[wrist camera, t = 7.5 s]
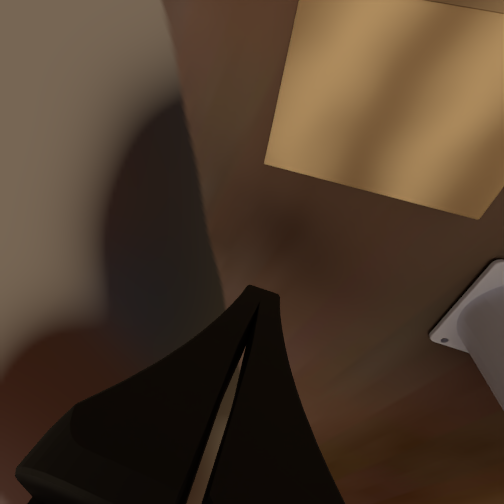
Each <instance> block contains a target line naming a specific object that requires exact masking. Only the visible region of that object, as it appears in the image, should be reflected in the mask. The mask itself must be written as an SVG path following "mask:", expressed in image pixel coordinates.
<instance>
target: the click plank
mask: <svg viewBox="0 0 504 504" xmlns="http://www.w3.org/2000/svg"><path fill="white" fill-rule="evenodd" d="M264 164H266V165H270V166H274V167H278V168H282V169H286V170H289V171H293V172H297V173H301V174H305V175H309V176H312V177H316V178H320V179H324V180H328V181H331V182H335V183H339V184H343V185H347V186H351V187H354V188H358V189H362V190H366V191H370V192H374V193H377V194H381V195H385V196H389V197H393V198H397V199H400V200H404V201H408V202H412V203H416V204H419V205H423V206H427V207H431V208H435V209H439V210H442V211H446V212H450V213H454V214H458V215H462V216H465V217H469V218H473V219H477V220H479V219H480V218H481V216H482V215H483V214H484V212H485V211H486V210H487V208H488V207H489V206H490V204H491V203H492V202H493V200H494V199H495V198H496V196H497V195H498V194H499V192H500V191H501V190H502V188H503V187H504V0H299V3H298V7H297V12H296V17H295V21H294V26H293V31H292V35H291V40H290V45H289V50H288V54H287V59H286V64H285V68H284V73H283V78H282V82H281V87H280V92H279V96H278V101H277V106H276V110H275V115H274V120H273V124H272V129H271V134H270V139H269V143H268V148H267V153H266V157H265V162H264Z"/></svg>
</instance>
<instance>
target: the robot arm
mask: <svg viewBox="0 0 504 504" xmlns="http://www.w3.org/2000/svg"><path fill="white" fill-rule="evenodd" d="M429 337H430V339H431V340H432V341H433V342H436V343H439V344H442V345H446V346H449V347H452V348H455V349H458V350H461V351H464V352H467V353H469V354H470V355H471V357H472V359H473V360H474V362H475V364H476V365H477V367H478V369H479V370H480V372H481V374H482V375H483V377H484V379H485V380H486V382H487V384H488V385H489V387H490V389H491V390H492V392H493V394H494V395H495V397H496V399H497V401H498V402H499V404H500V406H501V407H502V409H503V411H504V260H503V259H499V260H495V261H493V262H492V263H491V264H490V265H489V266H488V267H487V268H486V269H485V271H484V272H483V273H482V274H481V275H480V276H479V277H478V279H477V280H476V281H475V282H474V283H473V284H472V285H471V287H470V288H469V289H468V290H467V291H466V292H465V293H464V295H463V296H462V297H461V298H460V299H459V300H458V301H457V303H456V304H455V305H454V306H453V307H452V308H451V309H450V311H449V312H448V313H447V314H446V315H445V316H444V317H443V319H442V320H441V321H440V322H439V323H438V324H437V325H436V327H435V328H434V329H433V330H432V331H431V332H430V334H429ZM442 338H445V339H442ZM245 346H246V348H245ZM244 349H245V352H244V357H243V361H242V366H241V370H240V374H239V379H238V383H237V388H236V392H235V396H234V400H233V404H232V408H231V412H230V415H229V418H228V421H227V424H226V428H225V431H224V434H223V437H222V440H221V444H220V446H219V450H218V453H217V456H216V459H215V462H214V466H213V469H212V472H211V475H210V478H209V481H208V485H207V488H206V491H205V494H204V498H203V501H202V504H345V502H344V500H343V498H342V496H341V494H340V492H339V490H338V488H337V486H336V484H335V482H334V480H333V478H332V476H331V473H330V471H329V469H328V467H327V465H326V462H325V460H324V458H323V456H322V453H321V451H320V449H319V447H318V444H317V442H316V439H315V437H314V434H313V432H312V429H311V427H310V424H309V422H308V419H307V417H306V414H305V412H304V409H303V407H302V404H301V401H300V398H299V395H298V392H297V389H296V386H295V382H294V379H293V376H292V372H291V369H290V365H289V361H288V357H287V352H286V348H285V343H284V338H283V332H282V325H281V317H280V296H279V295H278V294H276V293H273V292H270V291H267V290H264V289H261V288H258V287H255V286H252V285H248V286H247V287H246V288H245V290H244V291H243V292H242V294H241V295H240V296H239V297H238V298H237V299H236V300H235V301H234V303H233V304H232V305H231V306H230V307H229V308H228V309H227V310H226V311H224V312H223V314H221V316H219V317H218V318H217V319H216V320H215V321H214V322H212V323H211V324H210V325H209V326H208V327H207V328H205V329H204V330H203V331H202V332H200V333H199V334H198V335H197V336H195V337H194V338H193V339H191V340H190V341H188V342H187V343H186V344H184V345H183V346H181V347H180V348H178V349H177V350H175V351H174V352H172V353H171V354H169V355H167V356H166V357H164V358H163V359H161V360H160V361H158V362H157V363H155V364H153V365H151V366H149V367H147V368H146V369H144V370H142V371H140V372H138V373H137V374H135V375H133V376H131V377H130V378H128V379H126V380H124V381H122V382H120V383H118V384H116V385H114V386H112V387H110V388H108V389H106V390H104V391H102V392H100V393H98V394H95V395H93V396H91V397H89V398H87V399H85V400H83V401H81V402H79V403H77V404H75V405H74V406H73V407H72V408H71V409H70V410H69V411H68V412H67V413H66V414H65V415H64V416H62V417H61V418H60V419H59V421H58V422H56V423H55V424H54V425H53V426H52V427H51V428H50V429H49V430H48V432H47V433H46V434H45V435H44V436H43V437H42V438H41V439H40V441H39V442H38V443H37V444H36V445H35V446H34V448H33V449H32V450H31V451H30V452H29V454H28V455H27V456H26V457H25V458H24V459H23V461H22V462H21V463H20V464H19V465H18V466H17V468H16V474H15V476H16V478H17V480H18V481H19V482H20V483H21V484H22V485H23V487H24V488H25V489H26V490H27V491H28V492H29V493H30V494H31V495H32V498H31V500H30V501H29V503H28V504H186V503H187V500H188V497H189V494H190V491H191V488H192V485H193V482H194V480H195V477H196V473H197V471H198V468H199V465H200V462H201V459H202V456H203V453H204V450H205V447H206V444H207V442H208V439H209V436H210V433H211V430H212V427H213V424H214V421H215V419H216V416H217V413H218V410H219V407H220V404H221V402H222V399H223V397H224V394H225V392H226V390H227V387H228V385H229V383H230V380H231V378H232V376H233V373H234V372H235V369H236V367H237V365H238V362H239V360H240V358H241V356H242V353H243V351H244Z"/></svg>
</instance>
